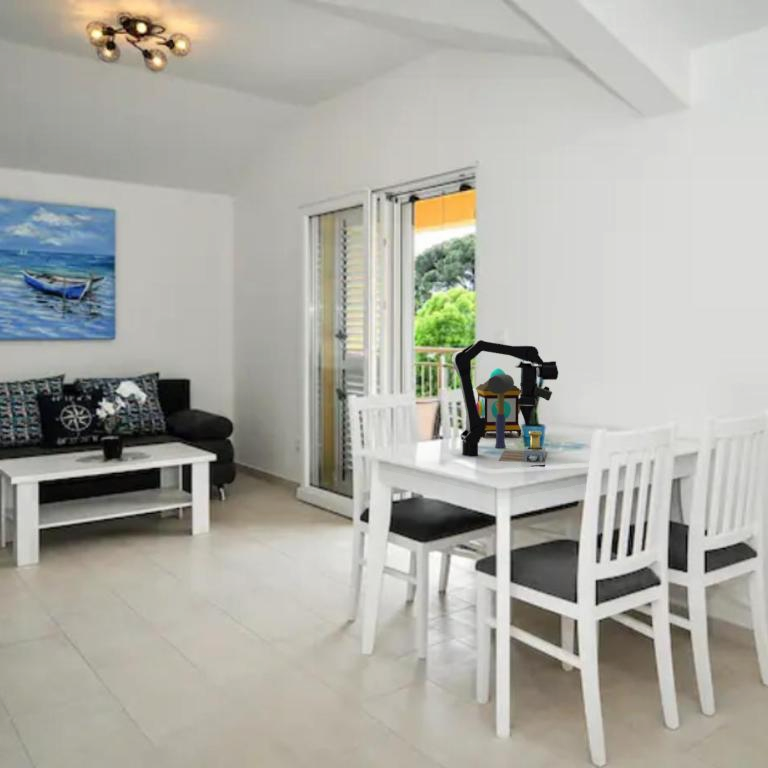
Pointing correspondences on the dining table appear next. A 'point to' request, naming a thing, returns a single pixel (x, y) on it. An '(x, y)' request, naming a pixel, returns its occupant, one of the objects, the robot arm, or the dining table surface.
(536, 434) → the pin
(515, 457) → the board
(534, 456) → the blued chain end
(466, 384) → the robot arm
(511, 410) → the decorative lantern
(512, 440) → the dining table surface
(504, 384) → the rubber mallet
